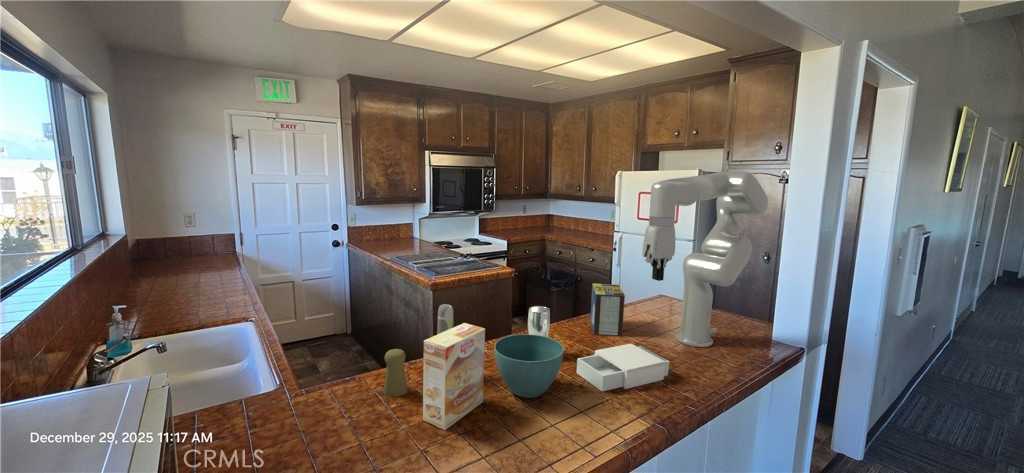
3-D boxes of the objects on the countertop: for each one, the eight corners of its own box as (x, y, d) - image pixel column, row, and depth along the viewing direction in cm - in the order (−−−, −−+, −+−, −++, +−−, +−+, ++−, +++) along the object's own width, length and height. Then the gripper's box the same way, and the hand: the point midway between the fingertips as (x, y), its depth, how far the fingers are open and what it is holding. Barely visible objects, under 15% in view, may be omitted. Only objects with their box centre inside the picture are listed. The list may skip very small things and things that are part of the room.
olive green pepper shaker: (411, 387, 114) (411, 348, 112) (398, 398, 108) (398, 357, 106) (392, 383, 115) (391, 344, 114) (378, 394, 110) (377, 353, 108)
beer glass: (523, 356, 135) (525, 310, 133) (530, 348, 142) (532, 304, 140) (544, 360, 133) (546, 314, 131) (551, 352, 139) (553, 307, 137)
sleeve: (629, 360, 135) (631, 343, 134) (663, 379, 123) (665, 361, 122) (593, 367, 129) (595, 350, 128) (625, 389, 117) (626, 370, 116)
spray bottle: (457, 372, 123) (458, 305, 120) (443, 378, 119) (444, 309, 116) (446, 367, 126) (447, 301, 123) (432, 372, 123) (433, 304, 120)
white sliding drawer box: (639, 359, 136) (640, 346, 135) (668, 375, 125) (669, 361, 124) (576, 372, 125) (577, 358, 124) (602, 391, 114) (603, 376, 114)
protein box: (616, 322, 170) (619, 284, 168) (622, 336, 155) (625, 295, 153) (589, 320, 171) (592, 282, 169) (593, 334, 156) (595, 293, 154)
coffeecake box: (445, 431, 95) (446, 347, 92) (421, 420, 99) (421, 339, 96) (484, 402, 108) (486, 327, 105) (462, 393, 111) (463, 321, 109)
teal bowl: (481, 398, 109) (482, 353, 107) (508, 369, 126) (509, 329, 124) (550, 415, 103) (552, 367, 101) (568, 382, 119) (571, 340, 118)
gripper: (668, 219, 140) (664, 274, 143) (635, 222, 133) (631, 279, 136) (687, 222, 134) (683, 279, 137) (653, 225, 127) (649, 285, 129)
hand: (657, 279), depth 136 cm, fingers closed
